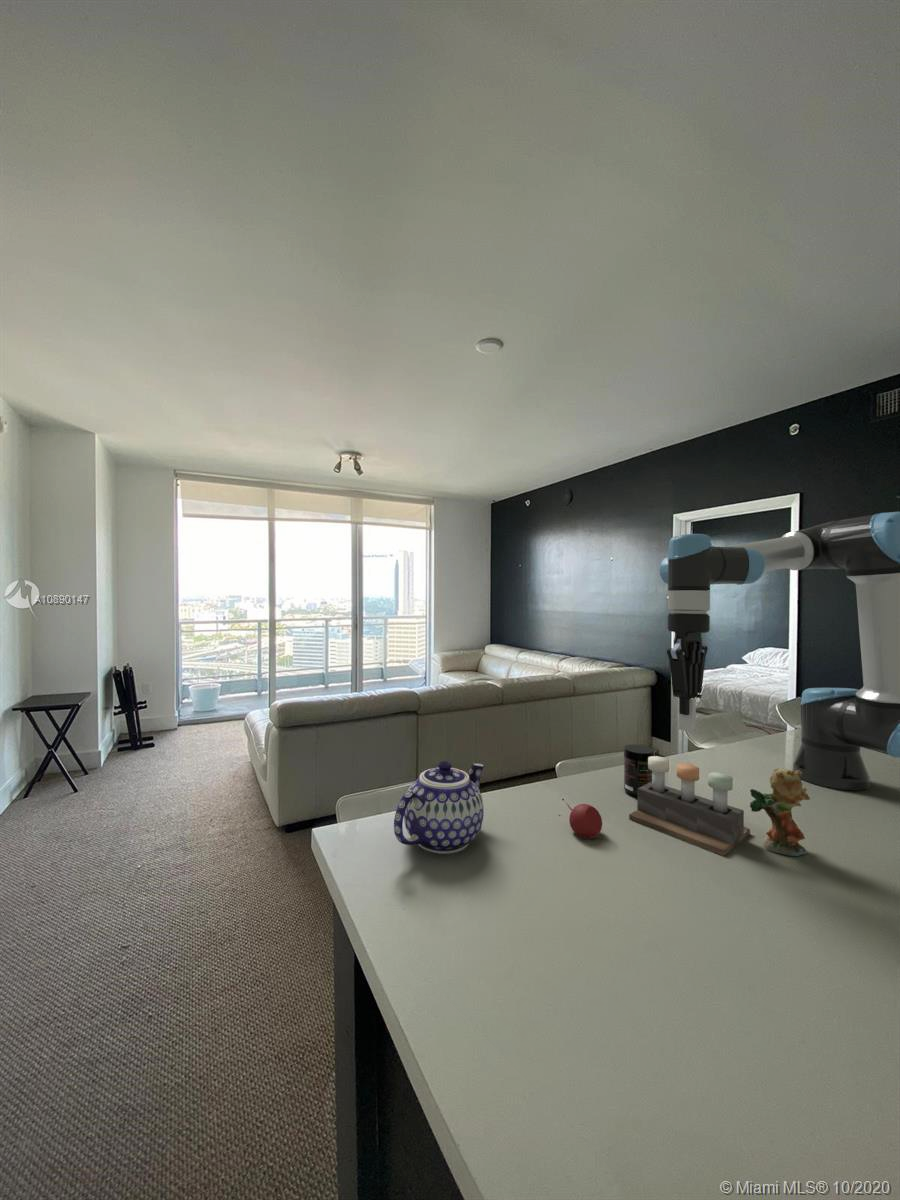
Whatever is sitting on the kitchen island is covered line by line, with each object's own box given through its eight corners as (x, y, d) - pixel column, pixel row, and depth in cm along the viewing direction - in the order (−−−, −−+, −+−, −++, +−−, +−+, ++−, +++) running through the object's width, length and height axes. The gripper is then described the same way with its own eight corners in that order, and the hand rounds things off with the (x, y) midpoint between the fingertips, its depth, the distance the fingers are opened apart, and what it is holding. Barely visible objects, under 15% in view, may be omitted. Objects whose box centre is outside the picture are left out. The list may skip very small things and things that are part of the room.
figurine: (803, 844, 87) (803, 763, 87) (814, 864, 80) (814, 777, 80) (745, 833, 91) (745, 756, 91) (751, 852, 84) (752, 768, 84)
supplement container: (661, 795, 109) (661, 750, 109) (641, 801, 105) (642, 755, 105) (636, 785, 115) (636, 742, 115) (617, 791, 111) (617, 747, 111)
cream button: (653, 785, 101) (654, 754, 101) (672, 790, 98) (672, 759, 98) (644, 789, 99) (644, 758, 99) (663, 795, 96) (663, 764, 96)
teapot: (425, 887, 74) (425, 793, 74) (365, 852, 84) (365, 770, 84) (514, 828, 93) (514, 753, 93) (457, 806, 103) (457, 738, 102)
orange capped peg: (682, 794, 97) (682, 762, 97) (702, 800, 94) (702, 767, 94) (673, 799, 94) (673, 766, 94) (693, 805, 91) (693, 772, 91)
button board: (658, 802, 105) (659, 778, 105) (749, 833, 91) (750, 805, 91) (629, 819, 97) (629, 792, 97) (723, 856, 83) (724, 824, 83)
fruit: (587, 835, 94) (571, 794, 97) (610, 830, 90) (592, 788, 93) (569, 845, 90) (552, 802, 93) (591, 841, 86) (573, 796, 90)
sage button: (713, 803, 92) (713, 770, 92) (735, 810, 89) (735, 776, 89) (704, 809, 90) (704, 775, 90) (727, 817, 86) (727, 781, 86)
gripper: (684, 611, 101) (682, 721, 101) (653, 612, 93) (652, 731, 93) (721, 612, 95) (720, 729, 95) (693, 613, 87) (691, 740, 87)
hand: (687, 730), depth 94 cm, fingers closed
